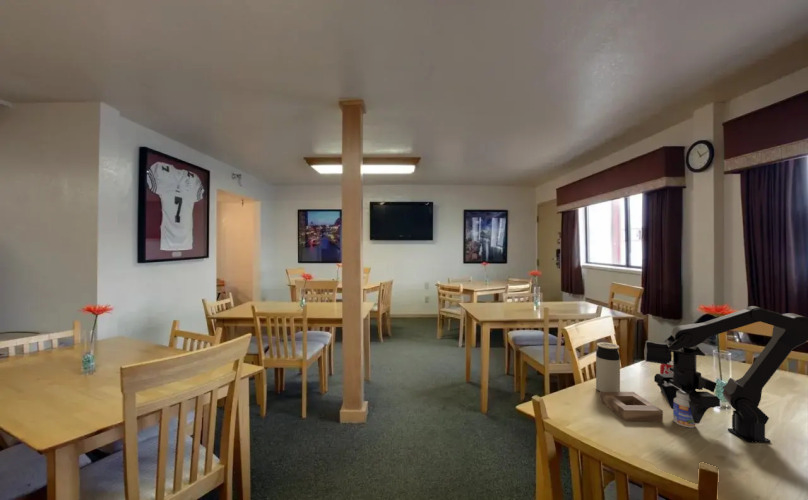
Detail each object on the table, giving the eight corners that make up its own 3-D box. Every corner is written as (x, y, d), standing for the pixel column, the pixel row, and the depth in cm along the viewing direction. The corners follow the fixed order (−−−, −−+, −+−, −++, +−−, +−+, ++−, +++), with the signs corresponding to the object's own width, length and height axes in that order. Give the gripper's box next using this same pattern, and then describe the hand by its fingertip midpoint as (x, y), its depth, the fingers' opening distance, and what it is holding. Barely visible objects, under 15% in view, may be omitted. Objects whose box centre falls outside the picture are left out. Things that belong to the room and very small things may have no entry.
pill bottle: (678, 426, 103) (678, 395, 103) (670, 418, 108) (670, 388, 108) (699, 429, 102) (699, 397, 102) (690, 420, 107) (690, 390, 107)
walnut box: (662, 421, 106) (662, 410, 106) (624, 421, 107) (624, 410, 107) (633, 401, 120) (633, 391, 120) (600, 401, 121) (600, 391, 120)
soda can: (688, 398, 123) (688, 366, 123) (666, 396, 124) (666, 364, 124) (676, 390, 130) (676, 360, 129) (656, 388, 131) (656, 358, 131)
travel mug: (623, 396, 125) (623, 348, 125) (600, 394, 126) (600, 347, 126) (614, 387, 132) (614, 342, 132) (593, 385, 134) (593, 341, 134)
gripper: (739, 378, 95) (739, 432, 96) (686, 357, 114) (685, 402, 114) (700, 378, 96) (700, 431, 96) (653, 357, 114) (653, 401, 114)
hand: (684, 415), depth 105 cm, fingers open, 9 cm apart
